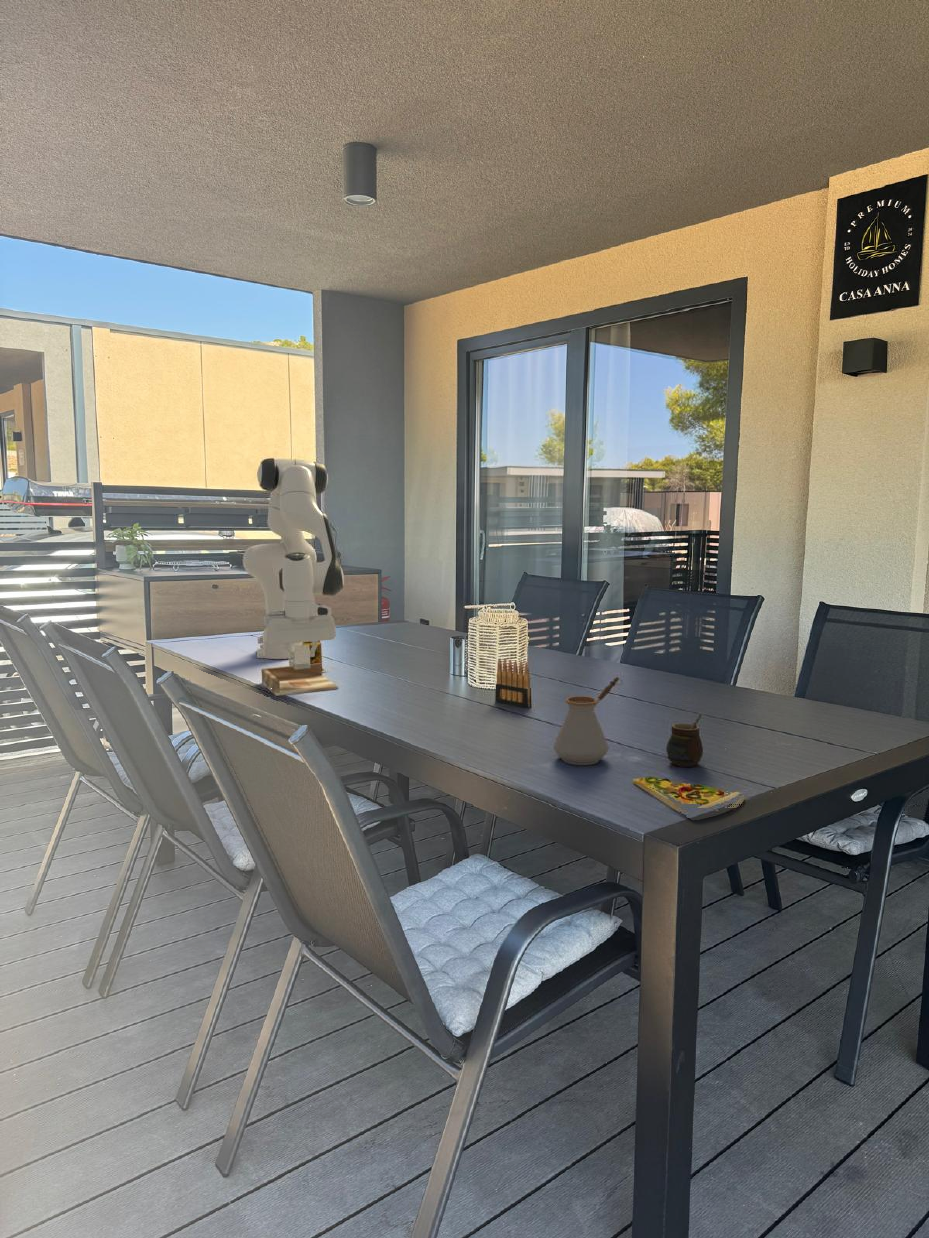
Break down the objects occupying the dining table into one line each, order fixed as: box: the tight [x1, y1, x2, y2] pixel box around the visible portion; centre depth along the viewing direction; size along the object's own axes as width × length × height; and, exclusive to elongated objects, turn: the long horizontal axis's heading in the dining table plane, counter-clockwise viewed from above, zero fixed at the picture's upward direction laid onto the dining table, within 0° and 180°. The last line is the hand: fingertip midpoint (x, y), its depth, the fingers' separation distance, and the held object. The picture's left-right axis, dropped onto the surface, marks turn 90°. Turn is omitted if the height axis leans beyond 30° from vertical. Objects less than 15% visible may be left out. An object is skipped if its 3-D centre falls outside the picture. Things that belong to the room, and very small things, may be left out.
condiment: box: [302, 641, 328, 673], centre depth 267 cm, size 7×8×12 cm
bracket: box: [288, 645, 310, 670], centre depth 245 cm, size 7×4×6 cm, turn 25°
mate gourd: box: [665, 713, 704, 768], centre depth 173 cm, size 7×8×10 cm
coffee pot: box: [553, 676, 624, 766], centre depth 180 cm, size 21×12×15 cm, turn 140°
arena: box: [260, 663, 339, 697], centre depth 247 cm, size 18×18×4 cm
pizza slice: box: [632, 775, 745, 814], centre depth 155 cm, size 16×21×3 cm
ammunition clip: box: [494, 657, 533, 709], centre depth 222 cm, size 11×2×12 cm, turn 51°
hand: (301, 657), depth 243 cm, fingers closed on bracket, 4 cm apart
